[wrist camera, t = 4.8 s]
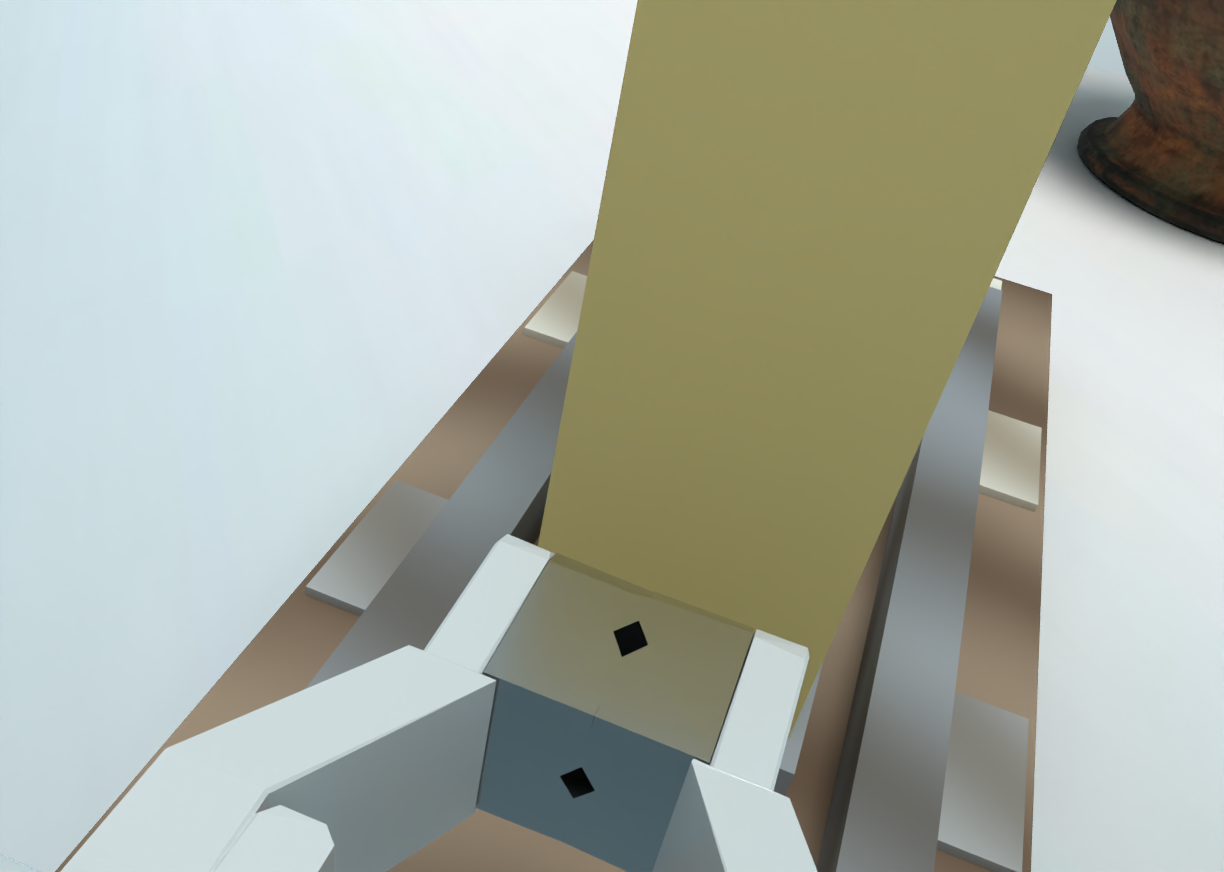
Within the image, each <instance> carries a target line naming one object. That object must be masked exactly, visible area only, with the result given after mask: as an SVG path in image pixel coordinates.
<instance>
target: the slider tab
mask: <svg viewBox="0 0 1224 872" xmlns="http://www.w3.org/2000/svg"><path fill="white" fill-rule="evenodd" d="M1116 1H1117V0H638V2H637V8H636V13H635V18H634V24H633V29H632V35H631V40H630V46H629V51H628V57H627V62H626V68H625V73H624V78H623V84H622V89H621V95H620V100H619V106H618V111H617V117H616V122H615V128H614V133H613V138H612V144H611V149H610V155H609V160H608V166H607V171H606V177H605V182H604V188H603V193H602V199H601V204H600V209H599V215H598V220H597V226H596V231H595V237H594V242H593V248H592V253H591V259H590V264H589V269H588V275H587V280H586V286H585V291H584V297H583V302H582V308H581V313H580V319H579V324H578V329H577V335H576V340H575V346H574V351H573V357H572V362H571V368H570V373H569V379H568V384H567V389H566V395H565V400H564V406H563V411H562V417H561V422H560V428H559V433H558V439H557V444H556V449H555V455H554V460H553V466H552V471H551V477H550V482H549V488H548V493H547V499H546V504H545V509H544V515H543V520H542V526H541V531H540V537H539V542H538V547H541V548H543V549H546V550H548V551H550V552H553V553H555V554H556V553H558V554H561V555H563V556H566V557H568V558H571V559H573V560H576V561H578V562H581V563H583V564H585V565H588V566H590V567H593V568H595V569H598V570H600V571H603V572H605V573H608V574H610V575H613V576H615V577H617V578H620V579H622V580H625V581H627V582H630V583H632V584H635V585H637V586H640V587H642V588H645V589H647V590H650V591H652V592H657V593H660V594H662V595H665V596H668V597H671V598H673V599H676V600H679V601H682V602H684V603H687V604H690V605H692V606H695V607H698V608H701V609H703V610H706V611H709V612H712V613H714V614H717V615H720V616H722V617H725V618H728V619H731V620H733V621H736V622H739V623H741V624H744V625H747V626H750V627H752V628H754V632H755V631H756V629H758V630H761V631H764V632H766V633H769V634H772V635H774V636H777V637H780V638H783V639H785V640H788V641H791V642H794V643H796V644H799V645H802V646H805V647H807V648H808V652H809V660H808V664H807V668H806V672H805V675H804V679H803V683H802V686H801V690H800V694H799V698H798V701H797V705H796V709H795V712H794V716H793V720H792V724H791V727H790V731H789V735H788V739H787V742H786V746H785V750H784V753H783V757H782V761H781V765H780V768H779V772H778V776H777V779H776V783H775V787H774V792H776V793H779V794H781V795H783V796H785V794H786V792H787V789H788V787H789V785H790V783H791V781H792V779H793V776H794V774H795V770H796V767H797V763H798V759H799V755H800V751H801V747H802V743H803V739H804V735H805V731H806V727H807V723H808V719H809V716H810V712H811V708H812V704H813V700H814V696H815V692H816V688H817V684H818V680H819V676H820V672H821V669H822V665H823V661H824V658H825V656H826V653H827V651H828V649H829V647H830V644H831V642H832V640H833V638H834V635H835V633H836V631H837V629H838V626H839V624H840V622H841V620H842V617H843V615H844V613H845V611H846V608H847V606H848V604H849V602H850V599H851V597H852V595H853V593H854V590H855V588H856V586H857V584H858V581H859V579H860V577H861V575H862V572H863V570H864V568H865V566H866V563H867V561H868V559H869V557H870V554H871V552H872V550H873V548H874V545H875V543H876V541H877V539H878V536H879V534H880V532H881V530H882V527H883V525H884V523H885V521H886V518H887V516H888V514H889V512H890V509H891V507H892V505H893V503H894V500H895V498H896V496H897V494H898V491H899V489H900V487H901V485H902V482H903V480H904V478H905V476H906V473H907V471H908V469H909V467H910V464H911V462H912V460H913V458H914V455H915V453H916V451H917V449H918V446H919V444H920V442H921V440H922V437H923V435H924V433H925V431H926V428H927V426H928V424H929V422H930V419H931V417H932V415H933V413H934V410H935V408H936V406H937V404H938V401H939V399H940V397H941V395H942V392H943V390H944V388H945V386H946V383H947V381H948V379H949V377H950V374H951V372H952V370H953V368H954V365H955V363H956V361H957V359H958V356H959V354H960V352H961V350H962V347H963V345H964V343H965V341H966V338H967V336H968V334H969V331H970V329H971V327H972V325H973V322H974V320H975V318H976V316H977V313H978V311H979V309H980V307H981V304H982V302H983V300H984V298H985V295H986V293H987V291H988V289H989V286H990V284H991V282H992V280H993V277H994V275H995V273H996V271H997V268H998V266H999V264H1000V262H1001V259H1002V257H1003V255H1004V253H1005V250H1006V248H1007V246H1008V244H1009V241H1010V239H1011V237H1012V235H1013V232H1014V230H1015V228H1016V226H1017V223H1018V221H1019V219H1020V217H1021V214H1022V212H1023V210H1024V208H1025V205H1026V203H1027V201H1028V199H1029V196H1030V194H1031V192H1032V190H1033V187H1034V185H1035V183H1036V181H1037V178H1038V176H1039V174H1040V172H1041V169H1042V167H1043V165H1044V163H1045V160H1046V158H1047V156H1048V154H1049V151H1050V149H1051V147H1052V145H1053V142H1054V140H1055V138H1056V136H1057V133H1058V131H1059V129H1060V127H1061V124H1062V122H1063V120H1064V118H1065V115H1066V113H1067V111H1068V109H1069V106H1070V104H1071V102H1072V100H1073V97H1074V95H1075V93H1076V91H1077V88H1078V86H1079V84H1080V82H1081V79H1082V77H1083V75H1084V73H1085V70H1086V68H1087V66H1088V64H1089V61H1090V59H1091V57H1092V55H1093V52H1094V50H1095V48H1096V46H1097V43H1098V41H1099V39H1100V36H1101V34H1102V32H1103V30H1104V28H1105V25H1106V23H1107V21H1108V18H1109V16H1110V14H1111V12H1112V10H1113V7H1114V5H1115V3H1116ZM753 634H754V633H753Z"/></svg>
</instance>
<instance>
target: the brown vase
mask: <svg viewBox="0 0 1224 872" xmlns="http://www.w3.org/2000/svg"><path fill="white" fill-rule="evenodd" d="M1110 18H1111V21H1112V25H1113V29H1114V32H1115V36H1116V40H1117V43H1118V47H1119V50H1120V54H1121V57H1122V61H1123V65H1124V68H1125V72H1126V75H1127V77H1128V79H1129V81H1130V84H1131V86H1132V88H1133V90H1134V93H1135V100H1134V102H1133V104H1132V105H1131V106H1130V107H1129V108H1128V109H1127V110H1126V111H1125V112H1124V113H1123V114H1122V115H1121V116H1120V117H1108V118H1104V119H1100V120H1096V121H1095V122H1093V123H1092V124H1090V125H1089V126H1088V127H1086V128H1085V129H1084V130H1083V131H1082V132H1081V135H1080V137H1079V141H1078V146H1077V148H1078V151H1079V154H1080V156H1081V158H1082V160H1083V161H1084V162H1085V164H1086V165H1087V166H1088V168H1089V169H1090V170H1091V171H1092V172H1093V173H1094V174H1095V175H1096V176H1098V177H1099V178H1100V179H1101V180H1102V181H1103V182H1104V183H1105V184H1107V185H1108V186H1110V187H1111V188H1112V189H1114V190H1115V191H1116V192H1118V193H1119V194H1121V195H1122V196H1123V197H1125V198H1126V199H1128V200H1130V201H1131V202H1133V203H1135V204H1136V205H1138V206H1140V207H1141V208H1143V209H1145V210H1146V211H1148V212H1150V213H1152V214H1154V215H1156V216H1158V217H1160V218H1162V219H1164V220H1166V221H1168V222H1170V223H1172V224H1174V225H1176V226H1179V227H1181V228H1184V229H1186V230H1189V231H1191V232H1194V233H1196V234H1199V235H1202V236H1204V237H1207V238H1209V239H1212V240H1215V241H1218V242H1222V243H1224V0H1117V1H1116V3H1115V5H1114V7H1113V10H1112V12H1111V14H1110Z"/></svg>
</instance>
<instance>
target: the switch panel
mask: <svg viewBox="0 0 1224 872" xmlns="http://www.w3.org/2000/svg"><path fill="white" fill-rule="evenodd" d="M593 242H594V240H593V241H592V242H591V244H590V245H589V246H588V247H587V248H586V250H585V251H584V252H583V253H582V254H581V255H580V257H579V258H578V259H577V260H576V261H575V262H574V264H573V265H572V266H571V267H570V268H569V269H568V271H567V272H566V273H565V274H564V275H563V276H562V278H561V279H560V280H559V281H558V282H557V284H556V285H555V286H554V287H553V288H552V289H551V291H550V292H549V293H548V294H547V295H546V296H545V298H544V299H543V300H542V301H541V302H540V303H539V305H538V306H537V307H536V308H535V309H534V311H533V312H532V313H531V314H530V315H529V316H528V318H527V319H526V320H525V321H524V322H523V323H522V325H521V326H520V327H519V328H518V329H517V330H516V332H515V333H514V334H513V335H512V336H511V337H510V339H509V340H508V341H507V342H506V343H505V345H504V346H503V347H502V348H501V349H500V350H499V352H498V353H497V354H496V355H495V356H494V357H493V359H492V360H491V361H490V362H489V363H488V364H487V366H486V367H485V368H484V369H483V370H482V372H481V373H480V374H479V375H478V376H477V377H476V379H475V380H474V381H473V382H472V383H471V384H470V386H469V387H468V388H467V389H466V390H465V391H464V393H463V394H462V395H461V396H460V397H459V398H458V400H457V401H456V402H455V403H454V404H453V406H452V407H451V408H450V409H449V410H448V411H447V413H446V414H445V415H444V416H443V417H442V418H441V420H440V421H439V422H438V423H437V424H436V425H435V427H434V428H433V429H432V430H431V431H430V433H429V434H428V435H427V436H426V437H425V438H424V440H423V441H422V442H421V443H420V444H419V445H418V447H417V448H416V449H415V450H414V451H413V452H412V454H411V455H410V456H409V457H408V458H407V460H406V461H405V462H404V463H403V464H402V465H401V467H400V468H399V469H398V470H397V471H396V472H395V474H394V475H393V476H392V477H391V478H390V479H389V481H388V482H387V483H386V484H385V485H384V486H383V488H382V489H381V490H380V491H379V492H378V494H377V495H376V496H375V497H374V498H373V499H372V501H371V502H370V503H369V504H368V505H367V506H366V508H365V509H364V510H363V511H362V512H361V513H360V515H359V516H358V517H357V518H356V519H355V521H354V522H353V523H352V524H351V525H350V526H349V528H348V529H347V530H346V531H345V532H344V533H343V535H342V536H341V537H340V538H339V539H338V540H337V542H336V543H335V544H334V545H333V546H332V547H331V549H330V550H329V551H328V552H327V553H326V555H325V556H324V557H323V558H322V559H321V560H320V562H319V563H318V564H317V565H316V566H315V567H314V569H313V570H312V571H311V572H310V573H309V574H308V576H307V577H306V578H305V579H304V580H303V582H302V583H301V584H300V585H299V586H298V587H297V589H296V590H295V591H294V592H293V593H292V594H291V596H290V597H289V598H288V599H287V600H286V601H285V603H284V604H283V605H282V606H281V607H280V608H279V610H278V611H277V612H276V613H275V614H274V616H273V617H272V618H271V619H270V620H269V621H268V623H267V624H266V625H265V626H264V627H263V628H262V630H261V631H260V632H259V633H258V634H257V635H256V637H255V638H254V639H253V640H252V641H251V643H250V644H249V645H248V646H247V647H246V648H245V650H244V651H243V652H242V653H241V654H240V655H239V657H238V658H237V659H236V660H235V661H234V662H233V664H232V665H231V666H230V667H229V668H228V669H227V671H226V672H225V673H224V674H223V675H222V677H221V678H220V679H219V680H218V681H217V682H216V684H215V685H214V686H213V687H212V688H211V689H210V691H209V692H208V693H207V694H206V695H205V696H204V698H203V699H202V700H201V701H200V702H199V704H198V705H197V706H196V707H195V708H194V709H193V711H192V712H191V713H190V714H189V715H188V716H187V718H186V719H185V720H184V721H183V722H182V723H181V725H180V726H179V727H178V728H177V729H176V730H175V732H174V733H173V734H172V735H171V736H170V738H169V739H168V740H167V741H166V742H165V743H164V745H163V746H162V747H161V748H160V749H159V750H158V752H157V753H156V754H155V755H154V756H153V757H152V759H151V760H150V761H149V762H148V763H147V765H146V766H145V767H144V768H143V769H142V770H141V772H140V773H139V774H138V775H137V776H136V777H135V779H134V780H133V781H132V782H131V783H130V784H129V786H128V787H127V788H126V789H125V790H124V792H123V793H122V794H121V795H120V796H119V797H118V799H117V800H116V801H115V802H114V803H113V804H112V806H111V807H110V808H109V809H108V810H107V811H106V813H105V814H104V815H103V816H102V817H101V818H100V820H99V821H98V822H97V823H96V824H95V826H94V827H93V828H92V829H91V830H90V831H89V833H88V834H87V835H86V836H85V837H84V838H83V840H82V841H81V842H80V843H79V844H78V845H77V847H76V848H75V849H74V850H73V851H72V853H71V854H70V855H69V856H68V857H67V858H66V860H65V861H64V862H63V863H62V864H61V865H60V867H59V868H58V869H57V870H56V871H55V872H60V871H61V870H62V869H63V868H64V867H65V865H66V864H67V863H68V862H69V861H70V860H71V858H72V857H73V856H74V855H75V854H76V853H77V851H78V850H79V849H80V848H81V847H82V846H83V844H84V843H85V842H86V841H87V840H88V839H89V837H90V836H91V835H92V834H93V833H94V832H95V830H96V829H97V828H98V827H99V826H100V825H101V823H102V822H103V821H104V820H105V819H106V818H107V816H108V815H109V814H110V813H111V812H112V811H113V809H114V808H115V807H116V806H117V805H118V803H119V802H120V801H121V800H122V799H123V798H124V796H125V795H126V794H127V793H128V792H129V791H130V789H131V788H132V787H133V786H134V785H135V784H136V782H137V781H138V780H139V779H140V778H141V777H142V775H143V774H144V773H145V772H146V771H147V770H148V768H149V767H150V766H151V765H152V764H153V763H154V761H155V760H156V759H157V758H158V757H159V756H160V754H161V753H162V752H163V751H164V750H165V749H166V748H168V747H170V746H173V745H175V744H177V743H180V742H182V741H184V740H187V739H189V738H192V737H194V736H196V735H199V734H201V733H203V732H206V731H208V730H210V729H213V728H215V727H217V726H220V725H222V724H224V723H227V722H229V721H231V720H234V719H236V718H238V717H241V716H243V715H246V714H248V713H250V712H253V711H255V710H257V709H260V708H262V707H264V706H267V705H269V704H271V703H274V702H276V701H278V700H281V699H283V698H285V697H288V696H290V695H293V694H295V693H297V692H300V691H302V690H304V689H307V688H309V687H311V686H314V685H316V684H318V683H321V682H323V681H325V680H328V679H330V678H332V677H335V676H337V675H339V674H342V673H344V672H347V671H349V670H351V669H354V668H356V667H358V666H361V665H363V664H365V663H368V662H370V661H372V660H375V659H377V658H379V657H382V656H384V655H386V654H389V653H391V652H394V651H396V650H398V649H401V648H403V647H405V646H408V645H410V646H413V647H416V648H418V649H421V650H424V649H425V647H426V646H427V644H428V643H429V641H430V640H431V638H432V637H433V636H434V634H435V633H436V631H437V630H438V628H439V627H440V625H441V624H442V622H443V621H444V619H445V618H446V616H447V615H448V613H449V612H450V610H451V609H452V607H453V606H454V604H455V603H456V601H457V600H458V598H459V597H460V595H461V594H462V592H463V591H464V589H465V588H466V586H467V585H468V583H469V582H470V580H471V579H472V577H473V576H474V574H475V573H476V571H477V570H478V568H479V567H480V565H481V564H482V562H483V561H484V559H485V558H486V556H487V555H488V553H489V552H490V551H491V549H492V548H493V546H494V545H495V543H496V542H498V541H499V540H500V539H501V538H503V537H504V536H505V535H507V534H509V535H511V536H514V537H516V538H519V539H521V540H524V541H526V542H528V543H531V544H533V545H536V546H538V542H539V537H540V531H541V526H542V520H543V515H544V509H545V504H546V499H547V493H548V488H549V482H550V477H551V471H552V466H553V460H554V455H555V449H556V444H557V439H558V433H559V428H560V422H561V417H562V411H563V406H564V400H565V395H566V389H567V384H568V379H569V373H570V368H571V362H572V357H573V351H574V346H575V340H576V335H577V329H578V324H579V319H580V313H581V308H582V302H583V297H584V291H585V286H586V280H587V275H588V269H589V264H590V259H591V253H592V248H593ZM1051 309H1052V294H1050V293H1046V292H1043V291H1040V290H1037V289H1034V288H1030V287H1027V286H1024V285H1021V284H1018V283H1015V282H1011V281H1008V280H1005V279H1002V278H999V277H995V276H994V277H993V280H992V282H991V284H990V286H989V289H988V291H987V293H986V295H985V298H984V300H983V302H982V304H981V307H980V309H979V311H978V313H977V316H976V318H975V320H974V322H973V325H972V327H971V329H970V331H969V334H968V336H967V338H966V341H965V343H964V345H963V347H962V350H961V352H960V354H959V356H958V359H957V361H956V363H955V365H954V368H953V370H952V372H951V374H950V377H949V379H948V381H947V383H946V386H945V388H944V390H943V392H942V395H941V397H940V399H939V401H938V404H937V406H936V408H935V410H934V413H933V415H932V417H931V419H930V422H929V424H928V426H927V428H926V431H925V433H924V435H923V437H922V440H921V442H920V444H919V446H918V449H917V451H916V453H915V455H914V458H913V460H912V462H911V464H910V467H909V469H908V471H907V473H906V476H905V478H904V480H903V482H902V485H901V487H900V489H899V491H898V494H897V496H896V498H895V500H894V503H893V505H892V507H891V509H890V512H889V514H888V516H887V518H886V521H885V523H884V525H883V527H882V530H881V532H880V534H879V536H878V539H877V541H876V543H875V545H874V548H873V550H872V552H871V554H870V557H869V559H868V561H867V563H866V566H865V568H864V570H863V572H862V575H861V577H860V579H859V581H858V584H857V586H856V588H855V590H854V593H853V595H852V597H851V599H850V602H849V604H848V606H847V608H846V611H845V613H844V615H843V617H842V620H841V622H840V624H839V626H838V629H837V631H836V633H835V635H834V638H833V640H832V642H831V644H830V647H829V649H828V651H827V653H826V656H825V658H824V661H823V665H822V669H821V672H820V676H819V680H818V684H817V688H816V692H815V696H814V700H813V704H812V708H811V712H810V716H809V719H808V723H807V727H806V731H805V735H804V739H803V743H802V747H801V751H800V755H799V759H798V763H797V767H796V770H795V774H794V776H793V779H792V781H791V783H790V785H789V787H788V789H787V792H786V794H785V796H786V797H788V798H790V801H791V803H792V806H793V809H794V811H795V814H796V817H797V819H798V822H799V824H800V827H801V830H802V832H803V835H804V837H805V840H806V843H807V845H808V848H809V851H810V853H811V856H812V858H813V861H814V864H815V866H816V869H817V872H1031V848H1032V821H1033V795H1034V768H1035V741H1036V714H1037V687H1038V660H1039V633H1040V606H1041V579H1042V552H1043V525H1044V498H1045V471H1046V444H1047V417H1048V390H1049V363H1050V336H1051ZM386 872H627V871H625V870H623V869H620V868H618V867H616V866H614V865H612V864H609V863H607V862H605V861H603V860H601V859H598V858H596V857H594V856H592V855H590V854H587V853H585V852H583V851H581V850H579V849H576V848H574V847H572V846H570V845H568V844H565V843H563V841H562V842H561V841H558V840H556V839H553V838H551V837H548V836H546V835H543V834H541V833H538V832H536V831H533V830H530V829H528V828H525V827H523V826H520V825H518V824H515V823H513V822H510V821H507V820H505V819H502V818H500V817H497V816H495V815H492V814H490V813H487V812H485V811H482V810H479V809H477V808H475V812H474V814H473V815H472V816H470V817H469V818H467V819H465V820H464V821H462V822H461V823H459V824H458V825H456V826H455V827H453V828H452V829H450V830H449V831H447V832H446V833H444V834H443V835H441V836H440V837H438V838H437V839H435V840H433V841H432V842H430V843H429V844H427V845H426V846H424V847H423V848H421V849H420V850H418V851H417V852H415V853H414V854H412V855H411V856H409V857H408V858H406V859H405V860H403V861H402V862H400V863H398V864H397V865H395V866H394V867H392V868H391V869H389V870H388V871H386Z"/></svg>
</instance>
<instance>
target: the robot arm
mask: <svg viewBox="0 0 1224 872" xmlns="http://www.w3.org/2000/svg"><path fill="white" fill-rule="evenodd" d="M753 633H754V634H753ZM808 660H809V652H808V648H807V647H805V646H802V645H799V644H796V643H794V642H791V641H788V640H785V639H783V638H780V637H777V636H774V635H772V634H769V633H766V632H764V631H761V630H758V629H756V631H755V632H754V628H752V627H750V626H747V625H744V624H741V623H739V622H736V621H733V620H731V619H728V618H725V617H722V616H720V615H717V614H714V613H712V612H709V611H706V610H703V609H701V608H698V607H695V606H692V605H690V604H687V603H684V602H682V601H679V600H676V599H673V598H671V597H668V596H665V595H662V594H660V593H657V592H652V591H650V590H647V589H645V588H642V587H640V586H637V585H635V584H632V583H630V582H627V581H625V580H622V579H620V578H617V577H615V576H613V575H610V574H608V573H605V572H603V571H600V570H598V569H595V568H593V567H590V566H588V565H585V564H583V563H581V562H578V561H576V560H573V559H571V558H568V557H566V556H563V555H561V554H558V553H556V554H555V553H553V552H550V551H548V550H546V549H543V548H541V547H538V546H536V545H533V544H531V543H528V542H526V541H524V540H521V539H519V538H516V537H514V536H511V535H509V534H507V535H505V536H504V537H503V538H501V539H500V540H499V541H498V542H496V543H495V545H494V546H493V548H492V549H491V551H490V552H489V553H488V555H487V556H486V558H485V559H484V561H483V562H482V564H481V565H480V567H479V568H478V570H477V571H476V573H475V574H474V576H473V577H472V579H471V580H470V582H469V583H468V585H467V586H466V588H465V589H464V591H463V592H462V594H461V595H460V597H459V598H458V600H457V601H456V603H455V604H454V606H453V607H452V609H451V610H450V612H449V613H448V615H447V616H446V618H445V619H444V621H443V622H442V624H441V625H440V627H439V628H438V630H437V631H436V633H435V634H434V636H433V637H432V638H431V640H430V641H429V643H428V644H427V646H426V647H425V649H424V650H421V649H418V648H416V647H413V646H410V645H408V646H405V647H403V648H401V649H398V650H396V651H394V652H391V653H389V654H386V655H384V656H382V657H379V658H377V659H375V660H372V661H370V662H368V663H365V664H363V665H361V666H358V667H356V668H354V669H351V670H349V671H347V672H344V673H342V674H339V675H337V676H335V677H332V678H330V679H328V680H325V681H323V682H321V683H318V684H316V685H314V686H311V687H309V688H307V689H304V690H302V691H300V692H297V693H295V694H293V695H290V696H288V697H285V698H283V699H281V700H278V701H276V702H274V703H271V704H269V705H267V706H264V707H262V708H260V709H257V710H255V711H253V712H250V713H248V714H246V715H243V716H241V717H238V718H236V719H234V720H231V721H229V722H227V723H224V724H222V725H220V726H217V727H215V728H213V729H210V730H208V731H206V732H203V733H201V734H199V735H196V736H194V737H192V738H189V739H187V740H184V741H182V742H180V743H177V744H175V745H173V746H170V747H168V748H166V749H165V750H164V751H163V752H162V753H161V754H160V756H159V757H158V758H157V759H156V760H155V761H154V763H153V764H152V765H151V766H150V767H149V768H148V770H147V771H146V772H145V773H144V774H143V775H142V777H141V778H140V779H139V780H138V781H137V782H136V784H135V785H134V786H133V787H132V788H131V789H130V791H129V792H128V793H127V794H126V795H125V796H124V798H123V799H122V800H121V801H120V802H119V803H118V805H117V806H116V807H115V808H114V809H113V811H112V812H111V813H110V814H109V815H108V816H107V818H106V819H105V820H104V821H103V822H102V823H101V825H100V826H99V827H98V828H97V829H96V830H95V832H94V833H93V834H92V835H91V836H90V837H89V839H88V840H87V841H86V842H85V843H84V844H83V846H82V847H81V848H80V849H79V850H78V851H77V853H76V854H75V855H74V856H73V857H72V858H71V860H70V861H69V862H68V863H67V864H66V865H65V867H64V868H63V869H62V870H61V871H60V872H386V871H388V870H389V869H391V868H392V867H394V866H395V865H397V864H398V863H400V862H402V861H403V860H405V859H406V858H408V857H409V856H411V855H412V854H414V853H415V852H417V851H418V850H420V849H421V848H423V847H424V846H426V845H427V844H429V843H430V842H432V841H433V840H435V839H437V838H438V837H440V836H441V835H443V834H444V833H446V832H447V831H449V830H450V829H452V828H453V827H455V826H456V825H458V824H459V823H461V822H462V821H464V820H465V819H467V818H469V817H470V816H472V815H473V814H474V812H475V808H477V809H479V810H482V811H485V812H487V813H490V814H492V815H495V816H497V817H500V818H502V819H505V820H507V821H510V822H513V823H515V824H518V825H520V826H523V827H525V828H528V829H530V830H533V831H536V832H538V833H541V834H543V835H546V836H548V837H551V838H553V839H556V840H558V841H561V842H562V841H563V843H565V844H568V845H570V846H572V847H574V848H576V849H579V850H581V851H583V852H585V853H587V854H590V855H592V856H594V857H596V858H598V859H601V860H603V861H605V862H607V863H609V864H612V865H614V866H616V867H618V868H620V869H623V870H625V871H627V872H817V869H816V866H815V864H814V861H813V858H812V856H811V853H810V851H809V848H808V845H807V843H806V840H805V837H804V835H803V832H802V830H801V827H800V824H799V822H798V819H797V817H796V814H795V811H794V809H793V806H792V803H791V801H790V798H788V797H786V796H783V795H781V794H779V793H776V792H774V787H775V783H776V779H777V776H778V772H779V768H780V765H781V761H782V757H783V753H784V750H785V746H786V742H787V739H788V735H789V731H790V727H791V724H792V720H793V716H794V712H795V709H796V705H797V701H798V698H799V694H800V690H801V686H802V683H803V679H804V675H805V672H806V668H807V664H808ZM0 872H39V871H37V870H35V869H32V868H30V867H28V866H26V865H24V864H22V863H20V862H17V861H15V860H13V859H11V858H9V857H7V856H5V855H2V854H0Z"/></svg>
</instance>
